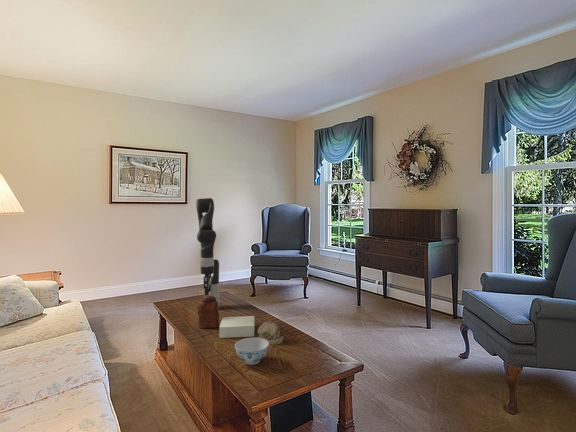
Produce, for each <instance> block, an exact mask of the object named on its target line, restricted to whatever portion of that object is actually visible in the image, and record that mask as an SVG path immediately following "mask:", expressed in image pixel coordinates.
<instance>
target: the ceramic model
mask: <svg viewBox="0 0 576 432" xmlns="http://www.w3.org/2000/svg"><path fill="white" fill-rule="evenodd" d="M280 330H281V327H279V325H278V324H277V323H276V322H275V323H274V322H272V321H271V320H268V321H264V322H262V324H261V325H260V326H259V327H258V328H257V334H258V337H257V338H263V339H265V340H267V341H268V342H269V346H270V345H272V346H273V345H274V346H276V345H280V344H282V343H283V342H284V336H283V335H280V334H281V331H280Z"/></svg>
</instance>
